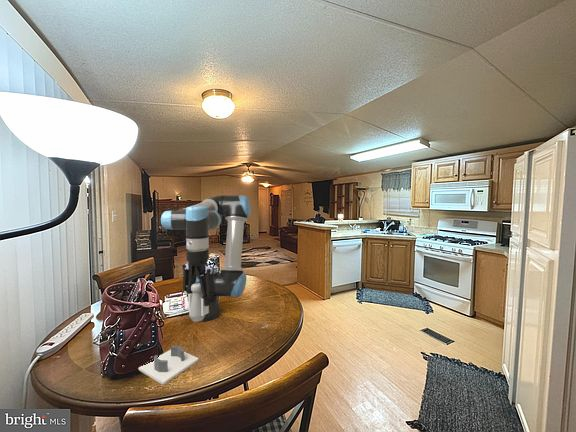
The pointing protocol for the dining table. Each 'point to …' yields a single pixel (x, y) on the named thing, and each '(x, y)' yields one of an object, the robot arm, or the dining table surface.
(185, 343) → the dining table surface
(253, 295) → the dining table surface
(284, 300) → the dining table surface
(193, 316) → the salt shaker
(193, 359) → the square base with blocks
